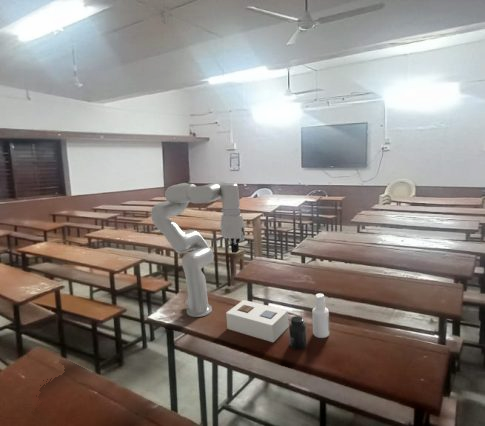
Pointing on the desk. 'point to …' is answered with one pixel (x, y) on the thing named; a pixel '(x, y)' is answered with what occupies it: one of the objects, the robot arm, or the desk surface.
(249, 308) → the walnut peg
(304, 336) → the supplement bottle
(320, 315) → the spray bottle
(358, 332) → the desk surface
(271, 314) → the slate peg
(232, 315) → the peg board
